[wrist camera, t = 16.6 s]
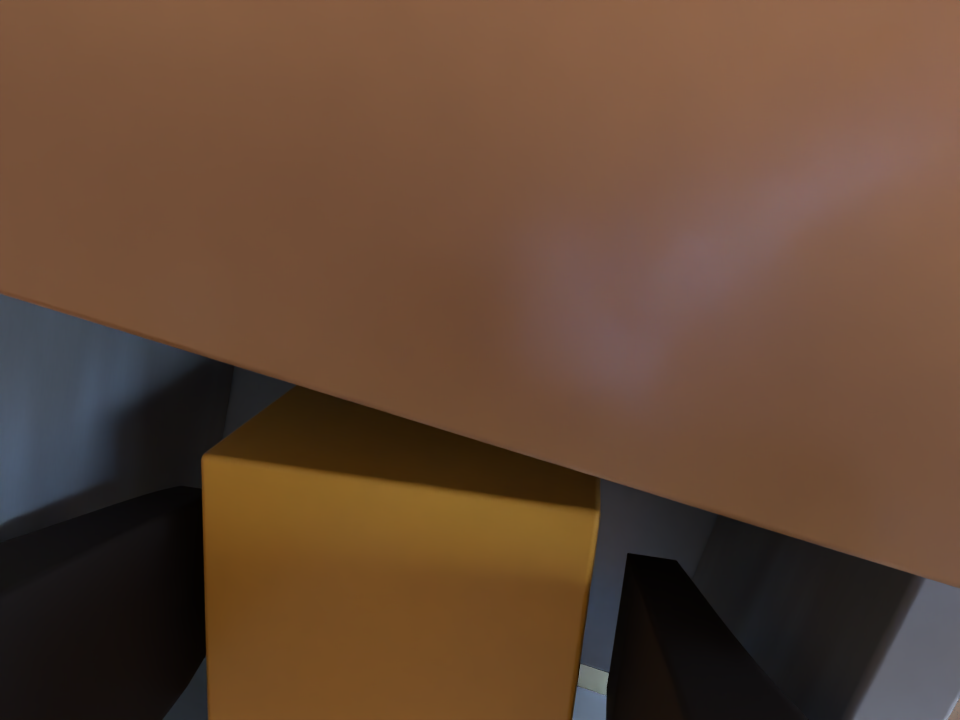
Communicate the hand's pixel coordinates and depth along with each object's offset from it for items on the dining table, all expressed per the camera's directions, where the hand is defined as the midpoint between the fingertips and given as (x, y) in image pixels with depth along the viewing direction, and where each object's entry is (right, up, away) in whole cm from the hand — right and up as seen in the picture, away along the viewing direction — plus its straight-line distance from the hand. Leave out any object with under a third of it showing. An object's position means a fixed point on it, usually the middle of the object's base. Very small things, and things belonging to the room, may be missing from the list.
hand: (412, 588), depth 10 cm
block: (0, +1, +3) cm, 3 cm away
